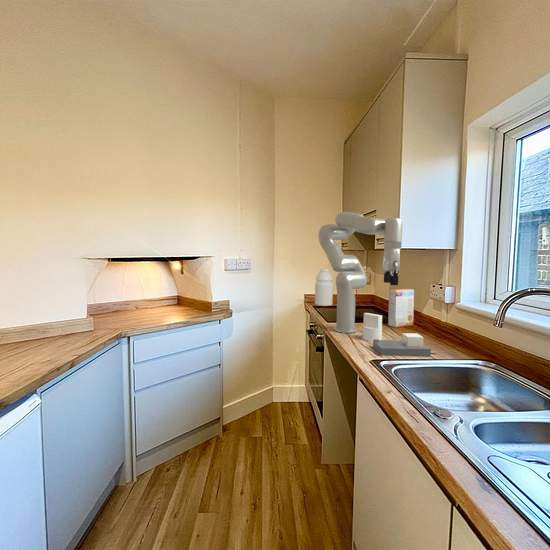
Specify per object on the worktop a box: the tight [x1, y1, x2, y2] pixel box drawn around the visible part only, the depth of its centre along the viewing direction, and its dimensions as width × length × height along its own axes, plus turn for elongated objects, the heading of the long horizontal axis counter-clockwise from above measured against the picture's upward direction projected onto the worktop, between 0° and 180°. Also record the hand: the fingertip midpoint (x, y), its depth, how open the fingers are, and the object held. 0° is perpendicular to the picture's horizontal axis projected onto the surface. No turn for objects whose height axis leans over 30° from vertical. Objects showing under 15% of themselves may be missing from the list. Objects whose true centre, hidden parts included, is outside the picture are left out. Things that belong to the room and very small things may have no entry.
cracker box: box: [387, 288, 415, 329], centre depth 193 cm, size 14×6×21 cm, turn 115°
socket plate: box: [372, 339, 432, 357], centre depth 145 cm, size 13×20×4 cm, turn 89°
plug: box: [401, 332, 424, 347], centre depth 144 cm, size 6×6×6 cm
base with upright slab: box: [362, 312, 383, 342], centre depth 164 cm, size 9×9×12 cm
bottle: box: [314, 268, 334, 307], centre depth 264 cm, size 14×14×28 cm
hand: (390, 283), depth 153 cm, fingers open, 9 cm apart
